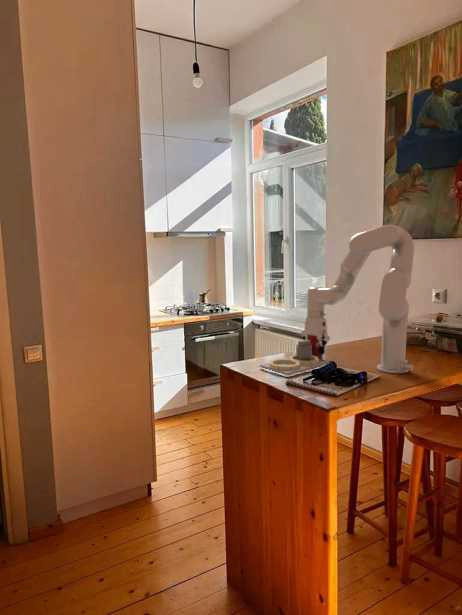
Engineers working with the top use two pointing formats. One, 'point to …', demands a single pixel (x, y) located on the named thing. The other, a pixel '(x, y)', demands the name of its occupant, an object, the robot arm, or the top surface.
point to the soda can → (315, 345)
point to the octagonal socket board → (292, 365)
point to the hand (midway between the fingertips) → (314, 352)
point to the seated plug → (304, 351)
